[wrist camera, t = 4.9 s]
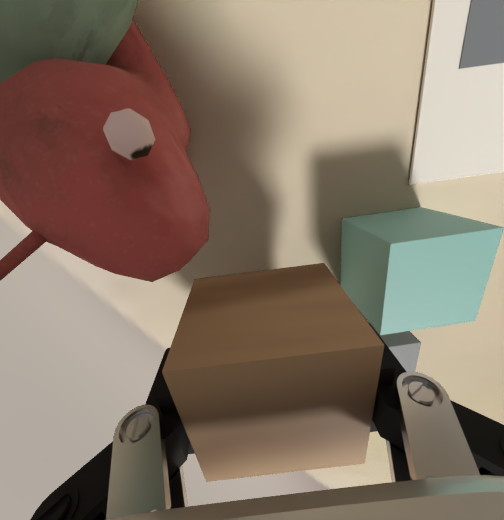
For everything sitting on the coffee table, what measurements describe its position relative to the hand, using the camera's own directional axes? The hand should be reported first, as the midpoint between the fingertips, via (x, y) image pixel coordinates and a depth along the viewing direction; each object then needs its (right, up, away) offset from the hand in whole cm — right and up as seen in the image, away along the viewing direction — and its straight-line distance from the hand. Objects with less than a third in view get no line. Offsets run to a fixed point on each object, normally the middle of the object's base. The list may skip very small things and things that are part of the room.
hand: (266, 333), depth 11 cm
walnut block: (0, 0, +1) cm, 1 cm away
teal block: (+8, +4, +4) cm, 10 cm away
